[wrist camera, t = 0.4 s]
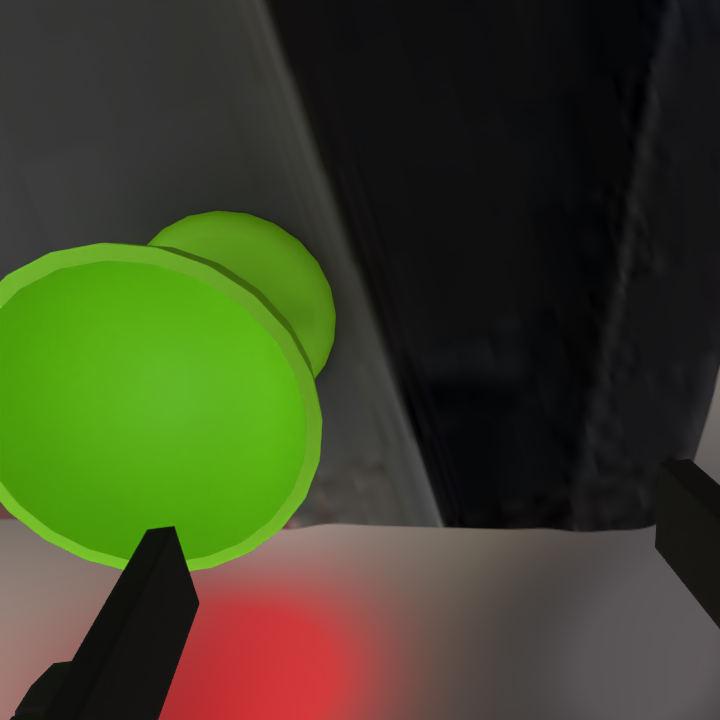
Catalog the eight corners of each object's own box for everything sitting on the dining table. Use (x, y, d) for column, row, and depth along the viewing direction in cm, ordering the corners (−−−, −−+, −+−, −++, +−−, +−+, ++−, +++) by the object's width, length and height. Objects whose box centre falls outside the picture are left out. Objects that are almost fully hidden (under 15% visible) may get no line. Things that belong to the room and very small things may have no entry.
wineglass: (354, 235, 38) (354, 287, 21) (316, 429, 43) (292, 596, 26) (130, 189, 37) (-61, 203, 20) (119, 394, 42) (-40, 545, 25)
